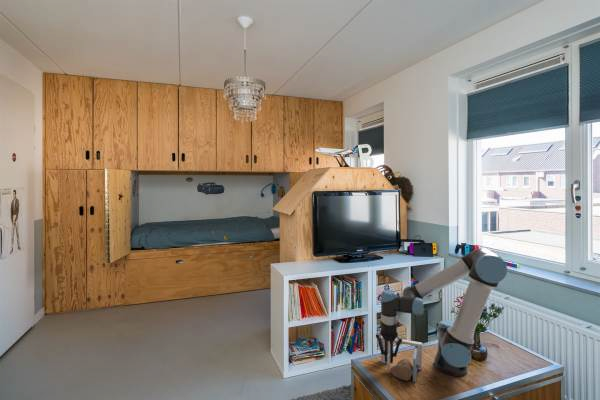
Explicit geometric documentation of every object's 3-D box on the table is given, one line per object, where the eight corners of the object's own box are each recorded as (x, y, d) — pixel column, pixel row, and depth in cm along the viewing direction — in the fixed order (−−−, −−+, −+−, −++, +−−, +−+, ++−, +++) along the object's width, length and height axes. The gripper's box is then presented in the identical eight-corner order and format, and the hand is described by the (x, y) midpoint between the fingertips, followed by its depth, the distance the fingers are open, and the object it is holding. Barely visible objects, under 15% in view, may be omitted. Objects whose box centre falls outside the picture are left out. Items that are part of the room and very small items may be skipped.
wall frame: (421, 368, 157) (421, 342, 156) (421, 370, 155) (421, 344, 154) (381, 360, 164) (381, 335, 163) (380, 362, 162) (380, 337, 162)
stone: (405, 390, 143) (417, 373, 142) (388, 375, 146) (399, 359, 145) (406, 377, 155) (417, 362, 154) (389, 364, 158) (400, 349, 157)
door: (415, 366, 157) (415, 344, 157) (421, 368, 156) (421, 345, 155) (412, 381, 146) (412, 357, 145) (419, 383, 144) (419, 359, 144)
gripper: (403, 321, 154) (403, 367, 155) (376, 317, 159) (376, 361, 160) (402, 327, 147) (402, 375, 148) (374, 323, 152) (374, 369, 153)
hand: (388, 368), depth 154 cm, fingers closed
